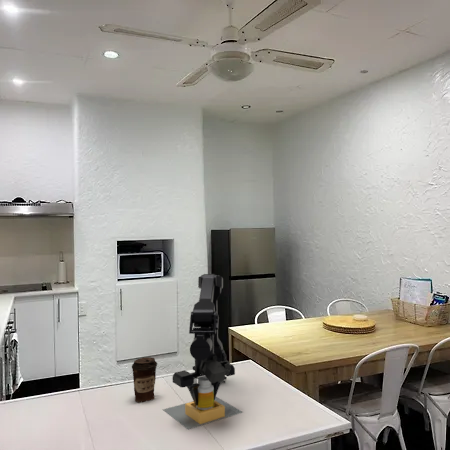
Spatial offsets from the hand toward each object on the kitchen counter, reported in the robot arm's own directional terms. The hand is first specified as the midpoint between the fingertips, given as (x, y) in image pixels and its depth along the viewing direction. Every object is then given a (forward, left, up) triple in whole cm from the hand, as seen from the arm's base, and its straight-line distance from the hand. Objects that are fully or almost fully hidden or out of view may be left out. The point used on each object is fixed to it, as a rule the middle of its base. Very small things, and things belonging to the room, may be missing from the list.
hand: (204, 402), depth 123 cm
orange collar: (0, 0, -4) cm, 4 cm away
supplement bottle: (0, 0, -3) cm, 3 cm away
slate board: (-3, +1, -4) cm, 5 cm away
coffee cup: (-23, -9, -4) cm, 25 cm away
